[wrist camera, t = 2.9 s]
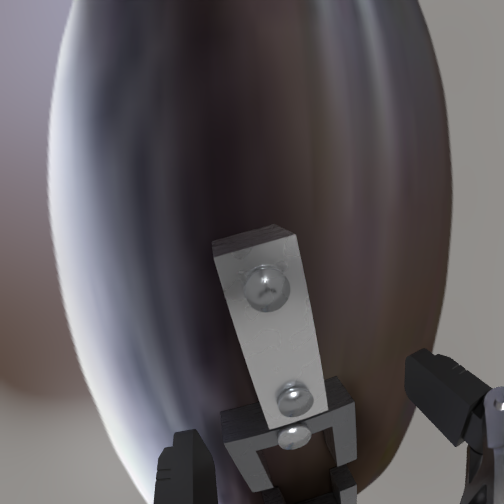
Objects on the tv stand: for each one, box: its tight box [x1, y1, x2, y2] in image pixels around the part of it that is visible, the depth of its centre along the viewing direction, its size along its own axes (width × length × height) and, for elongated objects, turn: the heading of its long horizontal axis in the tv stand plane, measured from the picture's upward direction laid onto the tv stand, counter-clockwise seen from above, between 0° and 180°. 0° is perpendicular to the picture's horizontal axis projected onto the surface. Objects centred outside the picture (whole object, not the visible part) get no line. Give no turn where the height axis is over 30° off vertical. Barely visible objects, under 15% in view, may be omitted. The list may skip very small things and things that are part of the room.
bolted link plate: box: [212, 224, 328, 430], centre depth 15 cm, size 10×3×4 cm, turn 15°
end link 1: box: [220, 376, 357, 492], centre depth 17 cm, size 7×8×4 cm
